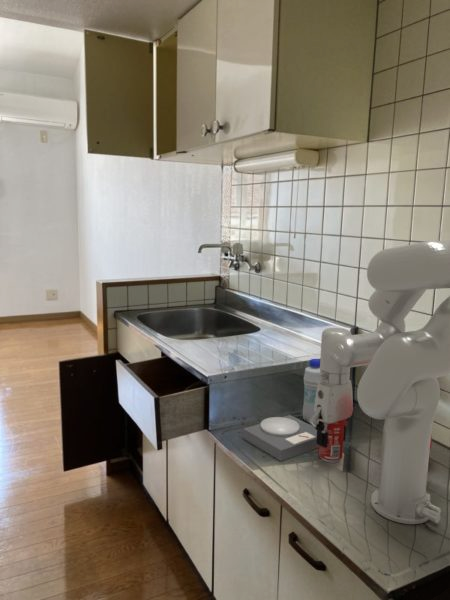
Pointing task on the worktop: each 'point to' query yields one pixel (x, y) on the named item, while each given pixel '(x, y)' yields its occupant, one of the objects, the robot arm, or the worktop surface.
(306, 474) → the worktop surface
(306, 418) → the bottle
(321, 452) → the beverage can
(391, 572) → the worktop surface
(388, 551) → the worktop surface
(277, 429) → the scale
